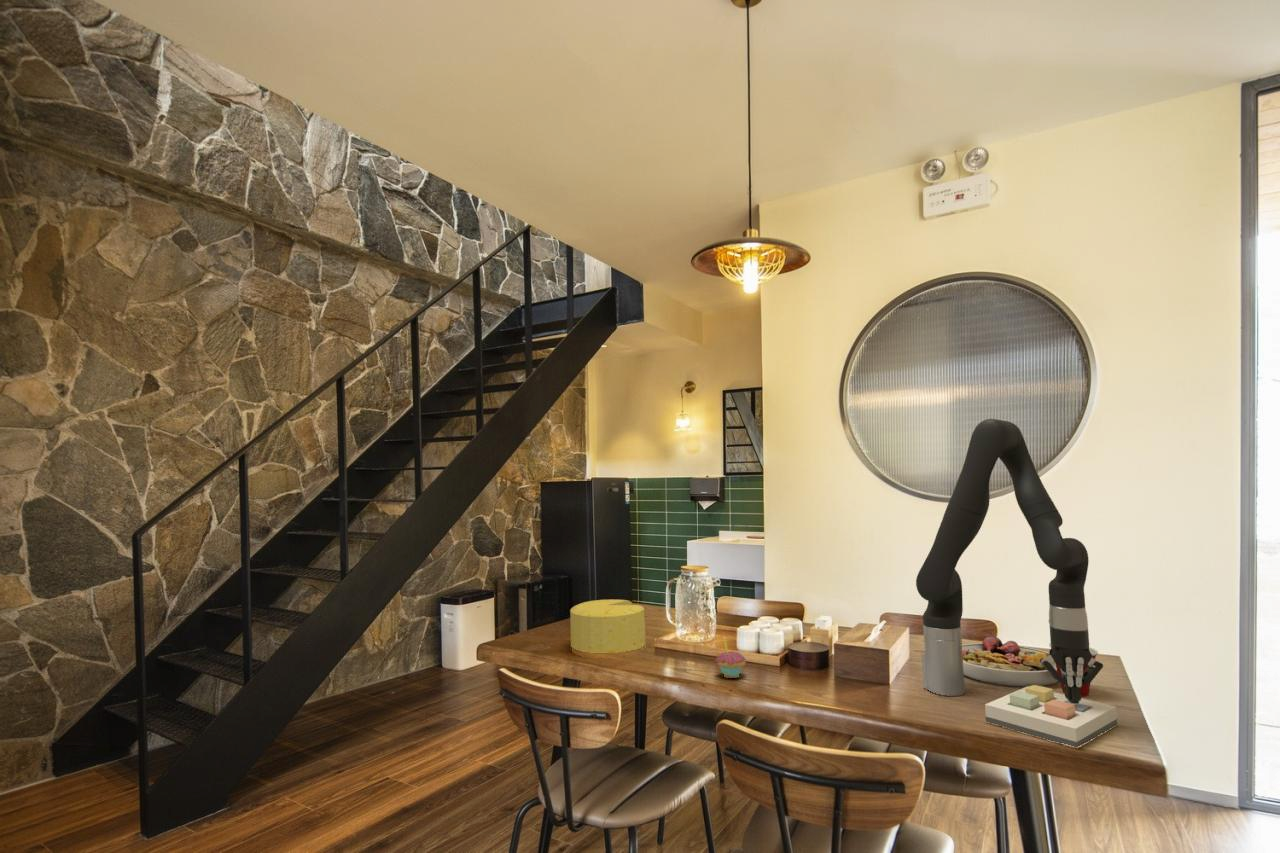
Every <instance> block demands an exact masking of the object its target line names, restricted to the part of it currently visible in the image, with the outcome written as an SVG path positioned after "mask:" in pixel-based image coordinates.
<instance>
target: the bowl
mask: <svg viewBox="0 0 1280 853" xmlns="http://www.w3.org/2000/svg"><path fill="white" fill-rule="evenodd" d="M962 654H963V670H964V677H965V676H966V677H968V678H971V679H973V680H977V681H979V680H980V682H984V683H989V684H994V685H999V686H1001V685H1002V686H1006V687H1007V686H1008V687H1023V688H1025V687H1027V686H1032V685H1037V686H1042V687H1045V686H1048V685H1053V684H1055V683H1058V681H1057V680H1055V679H1054V678H1053V676H1052V675H1051V674H1050V673H1049V672H1048V671H1047V670H1046V668H1045V667H1044V666H1043V665H1042V664H1041V663H1040V659H1041V658H1043V659H1045V658H1046V657H1048V656H1049V652H1048V651H1044V650H1041V649H1037V648H1034V647H1033V648H1032V647H1026V646H1021V645H1020V646H1019V645H1018V643H1017V642H1016V641H1014V640H1007V641H1006V642H1005V643H1003V642H1002V640H1001V639H1000V638H999V637H997V636H995V635H994V636H993V635H991V636H987V637H985V638H984V639H983V640H982V642H981V643H968V644H967V643H966V644H962ZM1053 663H1054V666H1053V667H1054V669H1055V670H1056V671H1057V668H1056V664H1055V661H1054V660H1053Z"/></svg>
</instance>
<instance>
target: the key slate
mask: <svg viewBox="0 0 1280 853" xmlns="http://www.w3.org/2000/svg"><path fill="white" fill-rule="evenodd" d="M1066 703H1070V702H1069V701H1068V702H1066ZM1070 704H1074V705H1075V711H1079V712H1085V711H1087V710H1089V709H1090V706H1086V705H1082V704H1078V703H1070Z"/></svg>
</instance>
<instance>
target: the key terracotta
mask: <svg viewBox="0 0 1280 853" xmlns="http://www.w3.org/2000/svg"><path fill="white" fill-rule="evenodd" d="M1044 707H1045V714H1046V715H1050V716H1054V717H1058V718H1061V719H1065V720H1068V719H1070V718H1072V717H1074V716H1076V715H1075V705H1074V704H1070V703H1066V702H1062V701H1058V700H1054V699H1053V700H1051V701H1049V702H1047V703H1044Z"/></svg>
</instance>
